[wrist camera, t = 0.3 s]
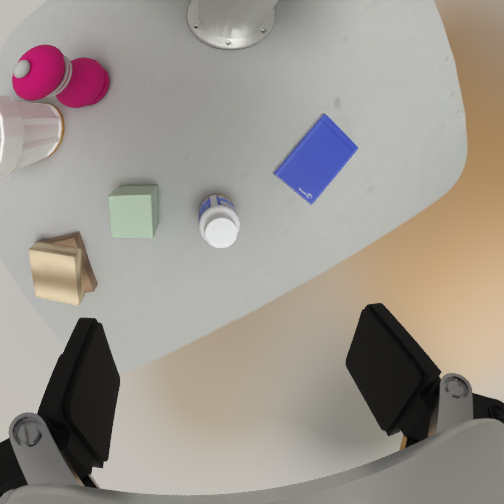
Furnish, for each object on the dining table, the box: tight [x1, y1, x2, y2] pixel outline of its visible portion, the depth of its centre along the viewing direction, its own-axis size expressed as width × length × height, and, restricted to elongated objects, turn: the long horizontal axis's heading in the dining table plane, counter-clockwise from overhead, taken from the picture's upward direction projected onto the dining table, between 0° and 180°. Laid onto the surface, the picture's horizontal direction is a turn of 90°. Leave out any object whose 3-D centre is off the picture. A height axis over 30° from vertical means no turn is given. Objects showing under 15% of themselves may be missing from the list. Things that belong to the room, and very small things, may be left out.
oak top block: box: [29, 242, 85, 305], centre depth 38 cm, size 9×9×3 cm
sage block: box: [108, 185, 159, 238], centre depth 38 cm, size 6×6×6 cm
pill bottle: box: [199, 195, 240, 248], centre depth 39 cm, size 5×5×10 cm
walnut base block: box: [40, 232, 97, 293], centre depth 41 cm, size 10×10×3 cm
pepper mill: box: [12, 45, 110, 108], centre depth 22 cm, size 7×7×20 cm
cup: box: [0, 96, 64, 182], centre depth 24 cm, size 11×11×17 cm
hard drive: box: [273, 114, 358, 205], centre depth 42 cm, size 2×8×12 cm
